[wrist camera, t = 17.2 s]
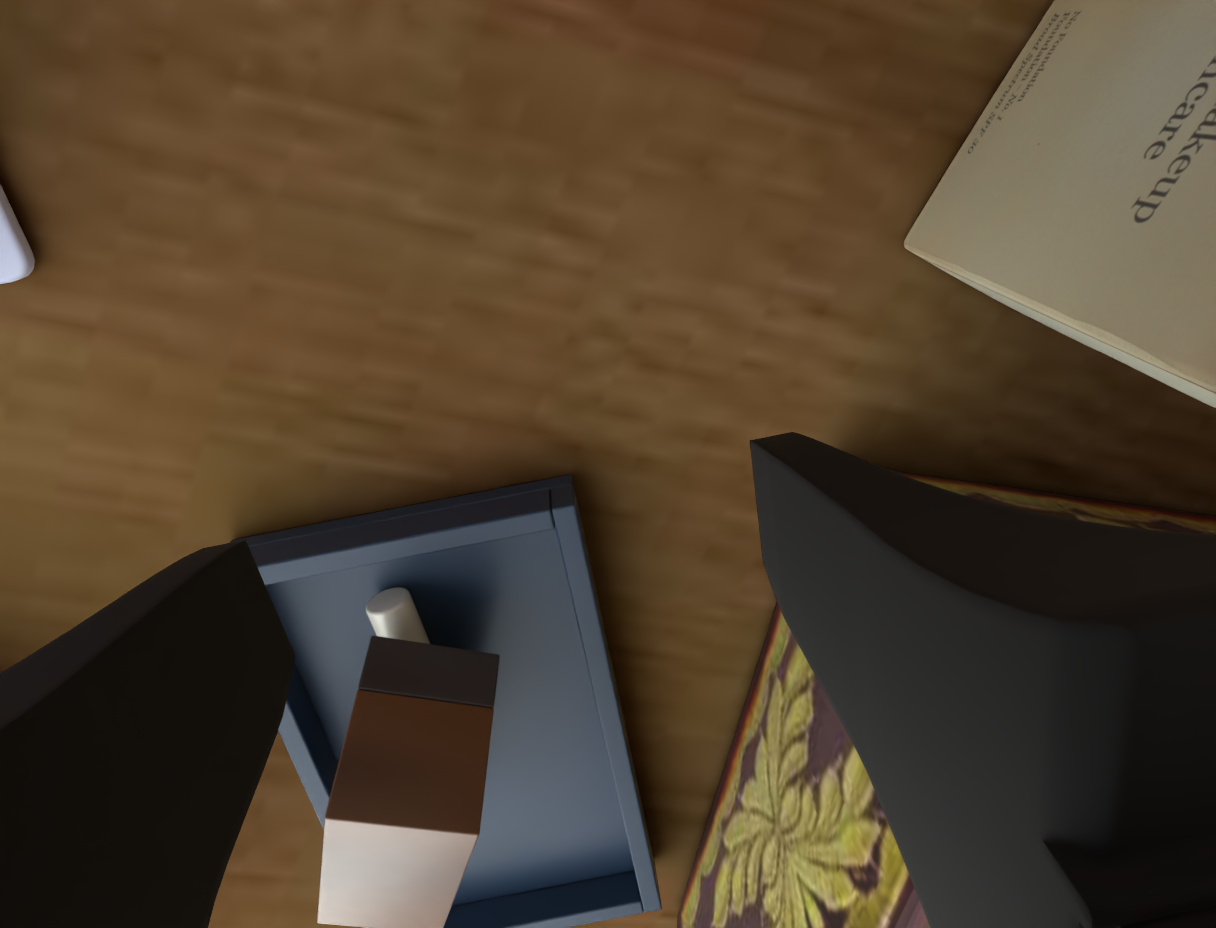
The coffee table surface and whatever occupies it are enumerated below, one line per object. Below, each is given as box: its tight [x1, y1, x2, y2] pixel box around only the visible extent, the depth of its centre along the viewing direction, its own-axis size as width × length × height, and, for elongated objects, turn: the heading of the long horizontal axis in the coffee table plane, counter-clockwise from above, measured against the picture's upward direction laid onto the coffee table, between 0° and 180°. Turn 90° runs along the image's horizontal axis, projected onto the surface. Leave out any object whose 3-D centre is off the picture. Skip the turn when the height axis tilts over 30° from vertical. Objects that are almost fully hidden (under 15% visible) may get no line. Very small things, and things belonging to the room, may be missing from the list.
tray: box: [230, 475, 662, 928], centre depth 24 cm, size 9×15×2 cm, turn 10°
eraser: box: [317, 636, 500, 928], centre depth 20 cm, size 6×3×4 cm, turn 165°
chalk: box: [366, 587, 431, 644], centre depth 22 cm, size 1×3×1 cm
